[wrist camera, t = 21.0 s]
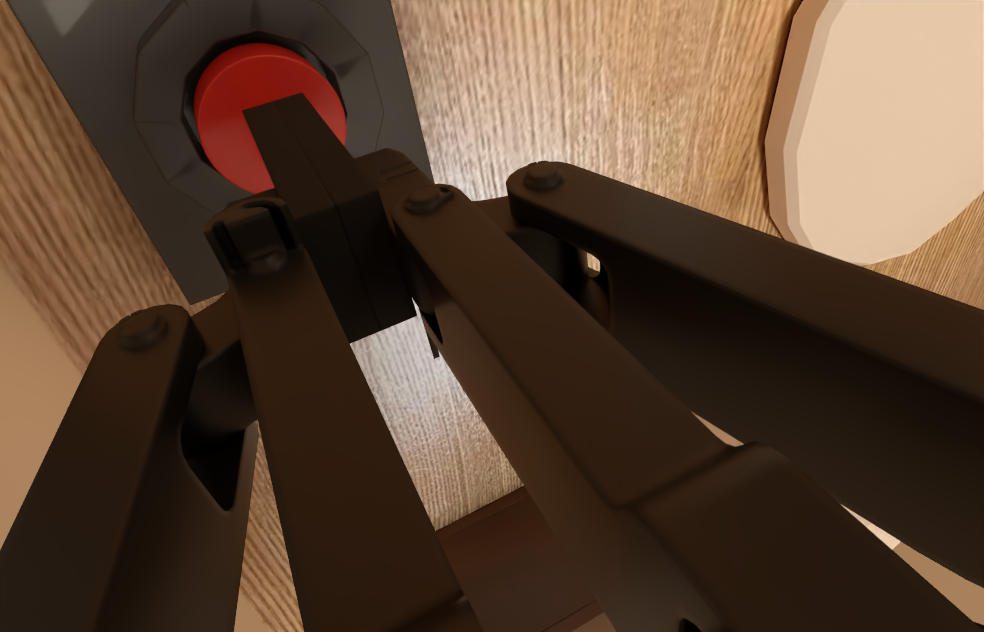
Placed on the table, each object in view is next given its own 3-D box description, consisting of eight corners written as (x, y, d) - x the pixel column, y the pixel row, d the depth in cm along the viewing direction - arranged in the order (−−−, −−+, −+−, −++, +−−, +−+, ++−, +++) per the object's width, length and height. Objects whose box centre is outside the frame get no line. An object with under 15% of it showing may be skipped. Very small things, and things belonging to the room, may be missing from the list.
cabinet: (584, 569, 51) (656, 680, 44) (446, 647, 48) (500, 780, 40) (570, 461, 42) (659, 579, 34) (399, 550, 38) (457, 699, 31)
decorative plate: (1052, -369, 21) (1248, -127, 33) (934, -336, 24) (1153, -126, 36) (739, 281, 32) (969, 282, 44) (687, 247, 35) (916, 257, 47)
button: (229, 194, 19) (235, 216, 18) (166, 64, 17) (169, 79, 15) (349, 153, 20) (363, 171, 19) (307, 25, 18) (320, 36, 16)
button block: (186, 277, 24) (193, 333, 21) (-27, -86, 16) (-66, -82, 13) (422, 191, 26) (459, 229, 23) (332, -159, 19) (369, -169, 16)
